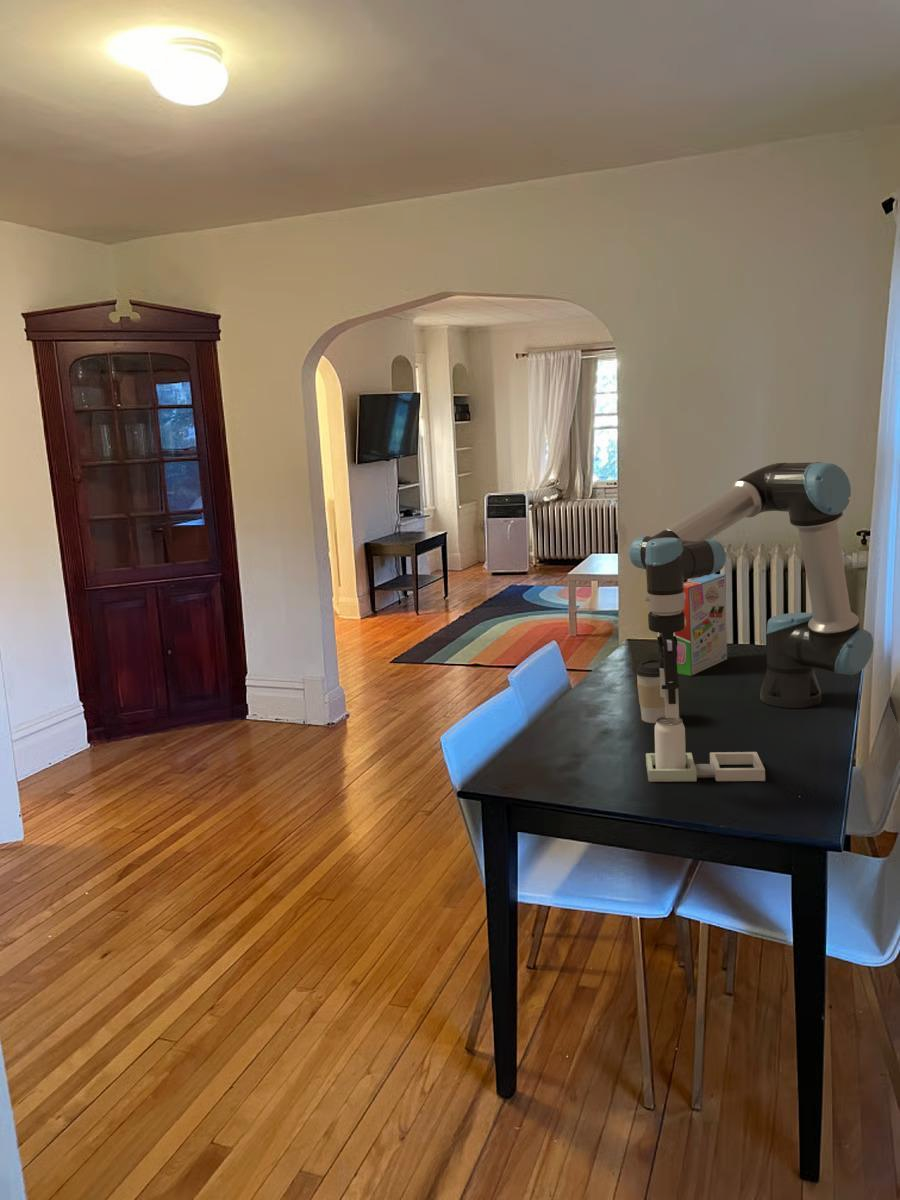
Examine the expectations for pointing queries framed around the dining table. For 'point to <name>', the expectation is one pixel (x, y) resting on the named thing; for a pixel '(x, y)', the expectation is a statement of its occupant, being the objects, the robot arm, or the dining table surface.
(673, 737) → the can
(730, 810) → the dining table surface
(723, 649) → the game box
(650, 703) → the coffee cup
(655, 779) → the socket panel
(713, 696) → the dining table surface
